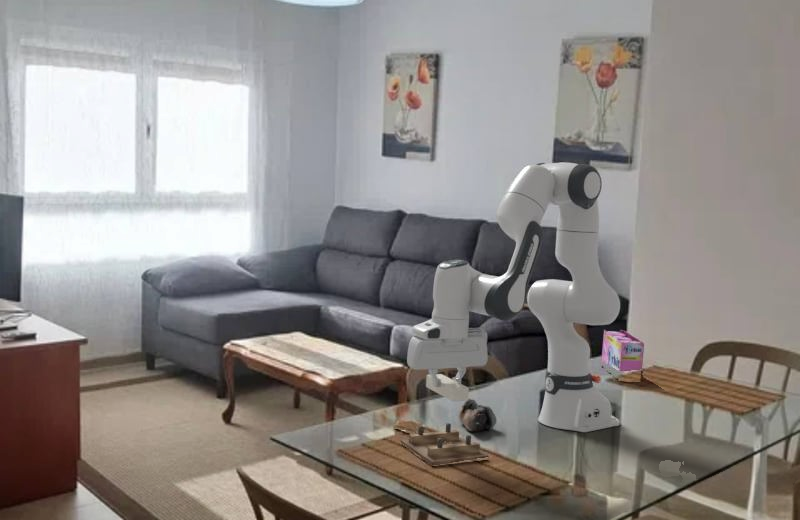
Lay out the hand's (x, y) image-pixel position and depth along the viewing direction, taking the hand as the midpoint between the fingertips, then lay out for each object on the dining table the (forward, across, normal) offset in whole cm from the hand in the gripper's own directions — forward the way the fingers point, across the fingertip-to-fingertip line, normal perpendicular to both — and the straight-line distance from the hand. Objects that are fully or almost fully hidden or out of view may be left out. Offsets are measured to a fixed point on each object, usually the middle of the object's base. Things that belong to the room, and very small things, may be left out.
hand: (446, 385), depth 208 cm
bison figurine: (+16, -17, -15) cm, 28 cm away
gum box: (+16, -98, -55) cm, 114 cm away
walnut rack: (+16, 0, 0) cm, 16 cm away
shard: (+17, -1, -18) cm, 25 cm away
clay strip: (+2, 0, 0) cm, 2 cm away
